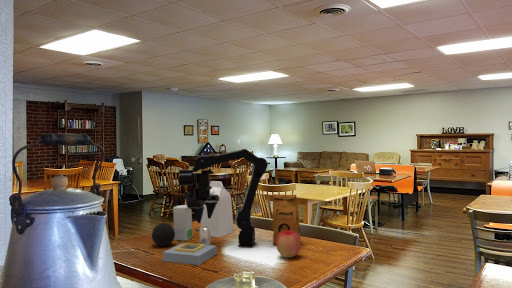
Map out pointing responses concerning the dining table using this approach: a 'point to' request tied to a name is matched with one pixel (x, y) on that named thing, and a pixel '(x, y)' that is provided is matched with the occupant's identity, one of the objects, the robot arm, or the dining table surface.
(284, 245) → the apple
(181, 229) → the skincare box
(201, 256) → the grey flat square piece
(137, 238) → the dining table surface
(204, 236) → the spout can
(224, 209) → the milk
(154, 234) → the speaker
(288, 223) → the coffee package
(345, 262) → the dining table surface
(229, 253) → the dining table surface
